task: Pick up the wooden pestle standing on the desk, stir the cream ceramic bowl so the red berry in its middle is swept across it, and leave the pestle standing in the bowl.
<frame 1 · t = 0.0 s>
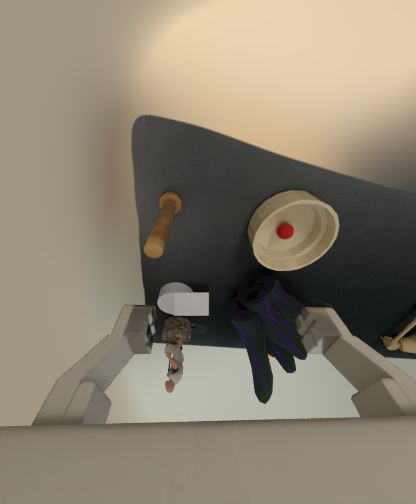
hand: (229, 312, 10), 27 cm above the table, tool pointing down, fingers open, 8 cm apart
bowl: (283, 226, 37), on the table
wedge on round base: (184, 293, 49), on the table
wooden pestle: (171, 201, 33), on the table
figurine: (177, 323, 58), on the table
decorative plant: (266, 301, 52), on the table
berry: (285, 231, 35), point 2 cm above the table, touching bowl
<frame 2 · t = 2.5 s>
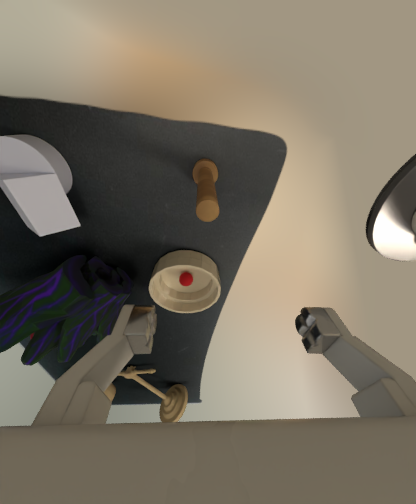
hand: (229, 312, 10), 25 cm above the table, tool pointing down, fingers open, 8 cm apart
bowl: (186, 274, 43), on the table
wedge on round base: (48, 181, 30), on the table
wooden pestle: (205, 172, 29), on the table
decorative plant: (85, 282, 44), on the table
desk lamp: (134, 376, 79), on the table
berry: (186, 279, 41), point 2 cm above the table, touching bowl
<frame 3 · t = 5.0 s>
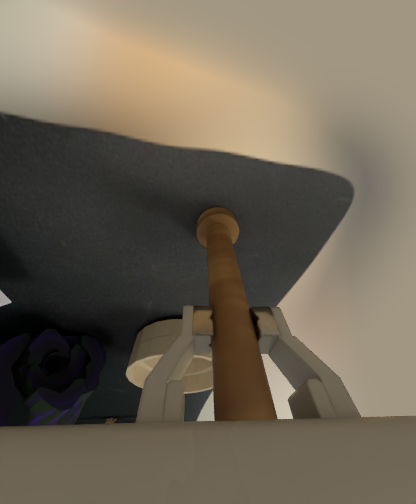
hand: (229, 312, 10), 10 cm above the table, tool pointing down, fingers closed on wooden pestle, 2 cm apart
bowl: (181, 340, 31), on the table
wooden pestle: (216, 225, 18), on the table, touching gripper
decorative plant: (41, 347, 32), on the table
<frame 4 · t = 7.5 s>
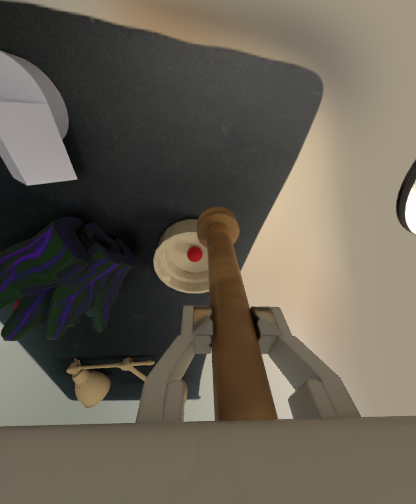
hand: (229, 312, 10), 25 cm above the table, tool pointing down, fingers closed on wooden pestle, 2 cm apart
bowl: (195, 250, 38), on the table
wedge on round base: (39, 123, 25), on the table
wooden pestle: (216, 225, 18), point 15 cm above the table, touching gripper
decorative plant: (80, 257, 39), on the table
desk lamp: (131, 369, 75), on the table
berry: (194, 254, 36), point 2 cm above the table, touching bowl
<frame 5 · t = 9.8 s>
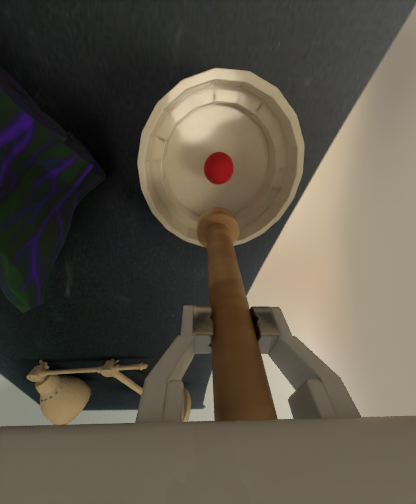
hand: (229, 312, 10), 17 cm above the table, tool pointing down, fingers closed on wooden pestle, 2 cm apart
bowl: (216, 169, 21), on the table
wooden pestle: (216, 225, 18), point 7 cm above the table, touching gripper
decorative plant: (11, 182, 22), on the table
desk lamp: (118, 374, 57), on the table
berry: (218, 168, 19), point 2 cm above the table, touching bowl
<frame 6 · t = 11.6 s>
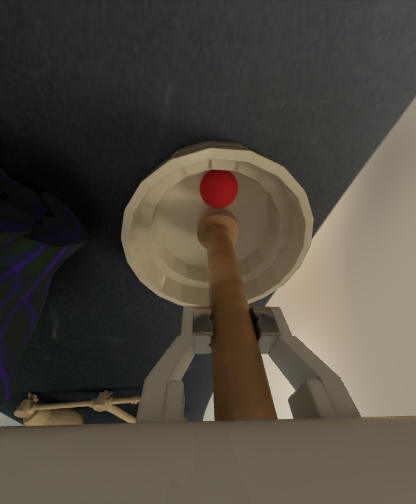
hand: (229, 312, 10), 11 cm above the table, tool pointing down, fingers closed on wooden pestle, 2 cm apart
bowl: (213, 223, 19), on the table
wooden pestle: (216, 226, 18), point 1 cm above the table, touching gripper
desk lamp: (112, 402, 55), on the table
berry: (218, 189, 15), point 2 cm above the table, tilted 136°, touching bowl
when the fingers open (11 cm above the table, at t = 14.4 s): wooden pestle stays where it is, resting on bowl.
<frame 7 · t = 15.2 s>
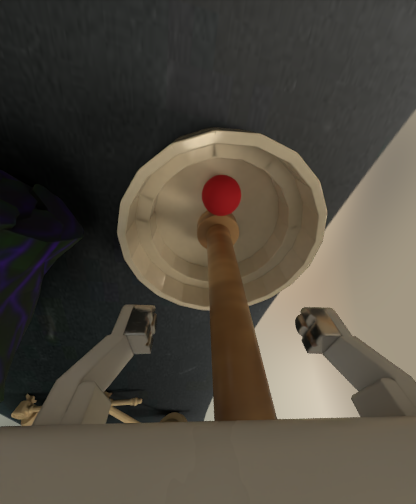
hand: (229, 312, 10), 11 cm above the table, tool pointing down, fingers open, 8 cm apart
bowl: (216, 218, 18), on the table
wooden pestle: (216, 226, 18), point 1 cm above the table, touching bowl
desk lamp: (111, 404, 54), on the table
berry: (221, 196, 15), point 2 cm above the table, tilted 93°, touching bowl
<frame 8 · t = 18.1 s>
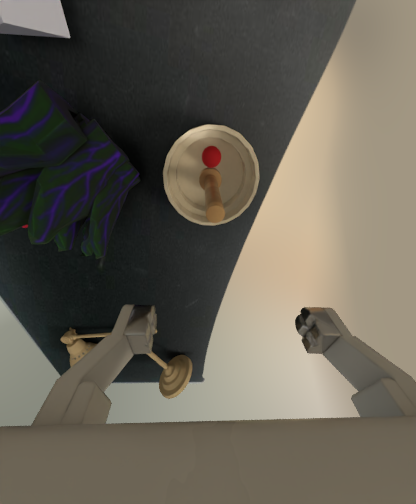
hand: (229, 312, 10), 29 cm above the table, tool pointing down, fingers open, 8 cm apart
bowl: (210, 174, 33), on the table
wooden pestle: (210, 178, 33), point 1 cm above the table, touching bowl
decorative plant: (76, 183, 33), on the table
desk lamp: (131, 343, 69), on the table
berry: (211, 157, 29), point 2 cm above the table, tilted 97°, touching bowl
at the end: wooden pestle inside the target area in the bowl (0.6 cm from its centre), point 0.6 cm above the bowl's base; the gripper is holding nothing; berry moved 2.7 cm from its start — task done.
